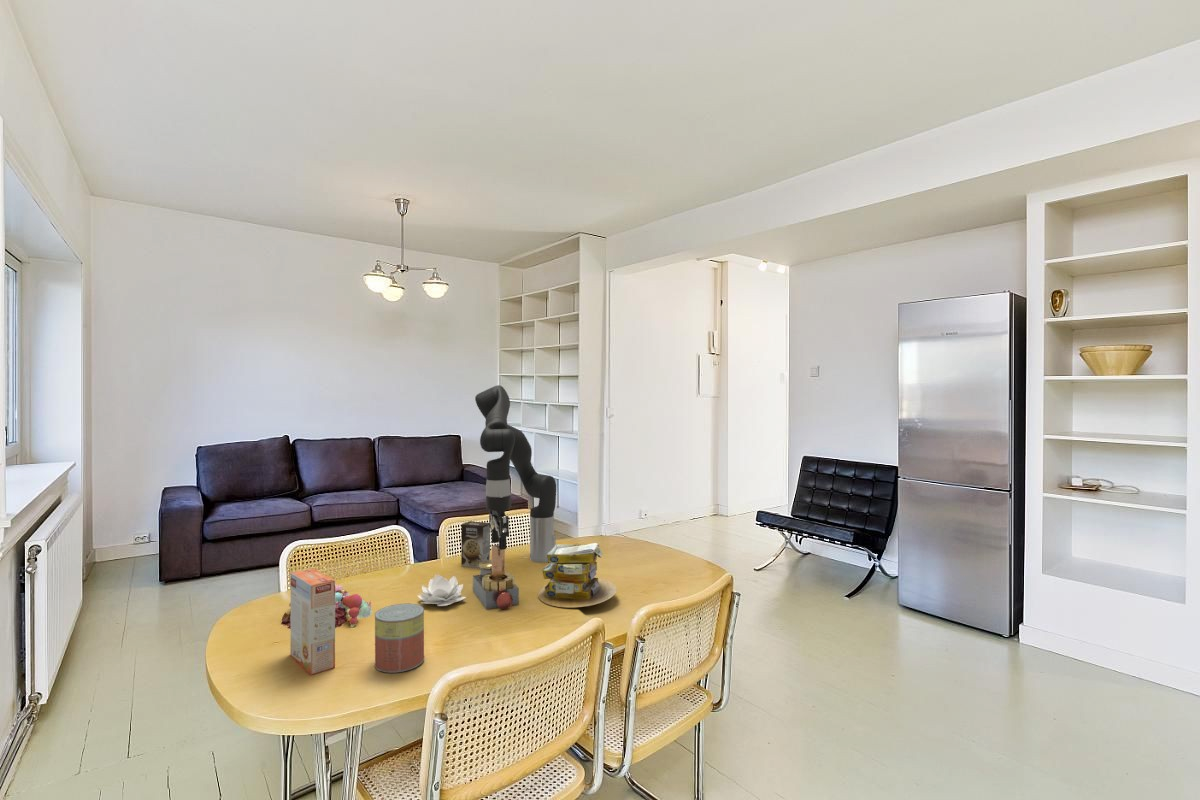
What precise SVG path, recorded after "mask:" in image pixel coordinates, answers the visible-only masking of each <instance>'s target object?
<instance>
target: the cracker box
mask: <svg viewBox="0 0 1200 800" xmlns="http://www.w3.org/2000/svg"><path fill="white" fill-rule="evenodd" d="M335 584H336V579H333V578H332V577H330V576H328V575H327V574H324V573H323V572H321V571H319V570H317V569H316V568H308V569H303V570H298V571H293V572H290V603H291V607H290V609H291V629H290V656H291V658H293V659H294V660H295V662H296V663H298V665H300V667H301V668H302V669H303V670H305V672H306V673H307V674H308V675H310V676H312V675H316V674H319V673H322V672H326V671H329V670H332V669H335V668H336V667H335V666H336V627H335Z"/></svg>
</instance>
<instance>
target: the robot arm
mask: <svg viewBox="0 0 1200 800" xmlns="http://www.w3.org/2000/svg"><path fill="white" fill-rule="evenodd" d="M474 401H475V403H476V406H477V408H478V410H479V412H480V413H481V415H482V416H483V418H485V426H484V429H483V430H482V432H481V435H480V437H479V444H480V448H481V449H482V450H483V451H484V452H486V453H499V452H501V453H502V452H503V454H502V455H501V456H500V457H498V458H495V459H490V460H488V461H487V462H486V483H485V509H486V510H487V511H488V512H489V513H488V515H489V516H488V517H489V518H488V519H489V520H488V523H489V527H490V532H491V543H493V544H498V545H499V549H500V550H504V549H505V550H506V549H508V547H507V537H509V536H510V522H509V515H506V513H505V511H506V510H507V511H508V510H510V509H511V506H512V501H511V500H512V497H511V496H512V494H511V493H512V492H511V491H512V490H511V479H510V478H511V473H510V472H511V471H510V470H511V469H510V466H511V463H512V465H513V467H514V469H515V471H516V472H517V474H518V476H519V478H520V481H521V483H522V486H523V487H524V490H525V491H526V493H527V494H528V496H530V497H531V498H533V499H534V498H535V499H538V505H537V506H533V507H531V508H530V511H529V543H530V544H529V549H530V550H529V555H530V556H529V559H530V561H531V560H532V562H534V563H542V562H543V563H548V558H547V554H548V552H549V551H550V550H551V549H552V548H553V547H554V546H555V545H557V544H556V540H557V539H556V538H557V537H556V535H555V534H554V533H555V531H554V530H555V529H554V528H555V523H554V522H555V521H554V519H555V517H554V515H555V509H556V503H557V501H556V500H557V483H556V480H555V478H554V476H553V475H547V474H541V473H540V474H539V473H537V471H536V470H535V468H534V466H533V464H532V456H533V455H532V453H533V452H532V450H533V449H532V446H531V444H530V442H529V440H528V438H527V436H526V435H525V434H524V433H523V432H522V431H521V430H519V429H518V428H516V427H515V426H512V425H510V424H508V415H509V411H510V408H511V401H510V396H509V394H508V392H507V391H506V389H505V387H503V386H502V385H494V386H492V387H490V388H487V389H485V390H483V391H481V392H479V393H477V394H476V395H475V400H474Z"/></svg>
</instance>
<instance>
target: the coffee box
mask: <svg viewBox="0 0 1200 800" xmlns="http://www.w3.org/2000/svg"><path fill="white" fill-rule="evenodd" d="M460 526H461V539H460V540H461V544H460V546H461V549H460V551H461V553H460V554H461V555H460V558H461V560H460V562H461V563H460V564H461V567H463V568H470V569H471V568H472V569H478V570H479V569H480V567H479V563H480V562H483V561H488V560H491V529H490V528H491V527H489V522H485V521H484V522H483V521H472V520H471V521H466V522H464V523H461V525H460Z"/></svg>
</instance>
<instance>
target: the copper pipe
mask: <svg viewBox="0 0 1200 800" xmlns="http://www.w3.org/2000/svg"><path fill="white" fill-rule="evenodd" d="M505 552H506V549H504V550H500V549H499V544H496V545H492V546H491V560H492V580H503V579H505V573H506V571H505V570H506V568H505V567H506V562H505V561H506V554H505Z"/></svg>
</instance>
